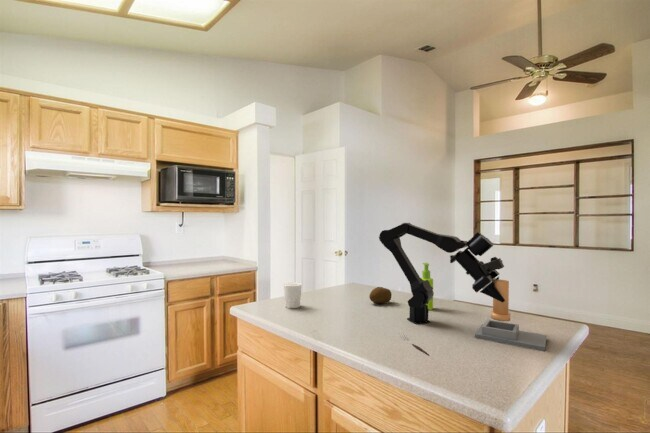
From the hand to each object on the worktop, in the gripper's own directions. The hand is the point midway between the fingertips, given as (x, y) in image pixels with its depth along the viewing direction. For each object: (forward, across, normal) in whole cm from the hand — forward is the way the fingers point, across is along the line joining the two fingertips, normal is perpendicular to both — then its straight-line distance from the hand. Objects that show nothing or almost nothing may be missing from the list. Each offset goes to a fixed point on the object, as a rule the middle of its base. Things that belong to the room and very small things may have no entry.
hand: (505, 300), depth 118 cm
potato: (-29, +16, +48) cm, 58 cm away
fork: (-6, -26, +25) cm, 36 cm away
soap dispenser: (-15, +21, +34) cm, 42 cm away
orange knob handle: (+4, 0, +6) cm, 7 cm away
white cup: (-50, -12, +69) cm, 86 cm away
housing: (+10, 0, +8) cm, 13 cm away
